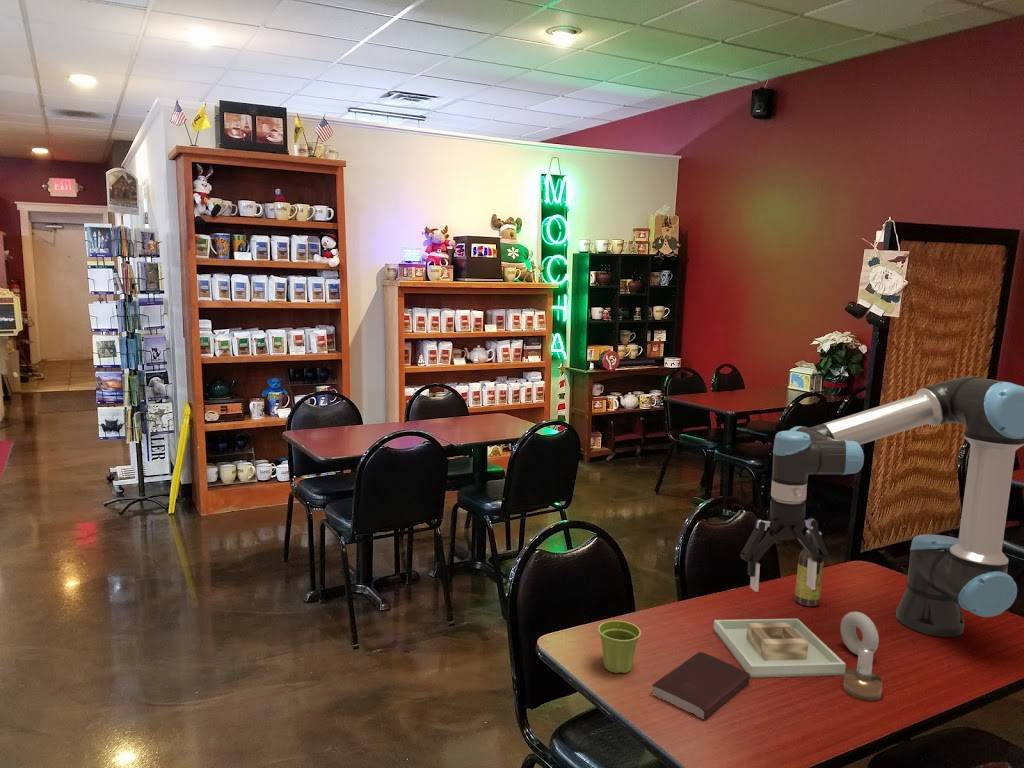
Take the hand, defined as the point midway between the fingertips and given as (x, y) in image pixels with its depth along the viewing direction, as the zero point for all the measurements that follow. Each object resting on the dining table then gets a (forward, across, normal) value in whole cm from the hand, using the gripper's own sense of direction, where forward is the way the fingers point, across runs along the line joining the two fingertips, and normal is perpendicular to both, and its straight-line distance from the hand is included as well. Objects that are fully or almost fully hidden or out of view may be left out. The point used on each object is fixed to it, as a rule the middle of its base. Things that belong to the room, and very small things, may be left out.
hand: (782, 588), depth 164 cm
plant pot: (+15, -40, -5) cm, 43 cm away
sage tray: (+16, -1, 0) cm, 16 cm away
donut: (+16, +18, -2) cm, 24 cm away
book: (+16, -24, -15) cm, 32 cm away
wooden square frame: (+15, -1, 0) cm, 15 cm away
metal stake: (+16, +10, -17) cm, 25 cm away
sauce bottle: (+16, +20, +25) cm, 36 cm away
